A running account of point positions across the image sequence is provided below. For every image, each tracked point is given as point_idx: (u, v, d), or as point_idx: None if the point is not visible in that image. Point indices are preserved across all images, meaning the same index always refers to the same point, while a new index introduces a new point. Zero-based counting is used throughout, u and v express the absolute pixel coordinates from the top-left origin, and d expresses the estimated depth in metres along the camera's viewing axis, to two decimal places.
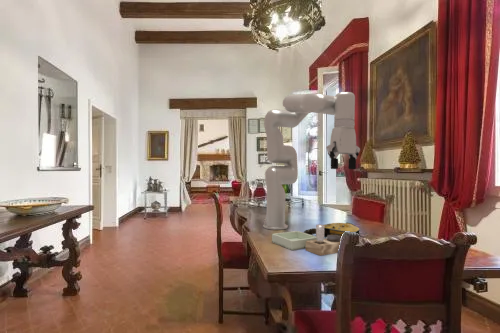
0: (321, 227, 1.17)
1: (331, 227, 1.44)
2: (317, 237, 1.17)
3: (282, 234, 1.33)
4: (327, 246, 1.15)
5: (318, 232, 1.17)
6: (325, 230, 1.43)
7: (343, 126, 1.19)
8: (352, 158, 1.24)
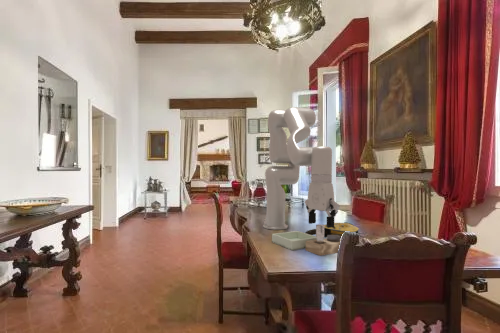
0: (321, 227, 1.17)
1: None
2: (317, 237, 1.17)
3: (282, 234, 1.33)
4: (327, 246, 1.15)
5: (318, 232, 1.17)
6: (326, 230, 1.42)
7: (331, 182, 1.16)
8: (313, 212, 1.22)
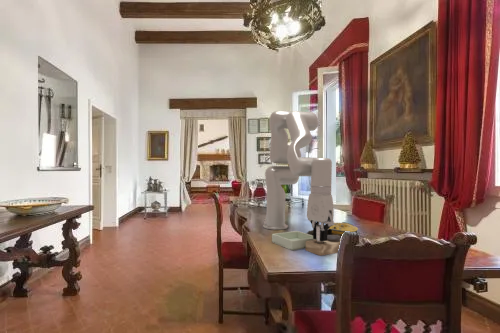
0: None
1: (332, 227, 1.43)
2: (317, 237, 1.17)
3: (282, 234, 1.33)
4: (327, 246, 1.15)
5: (318, 232, 1.17)
6: (327, 231, 1.42)
7: None
8: None
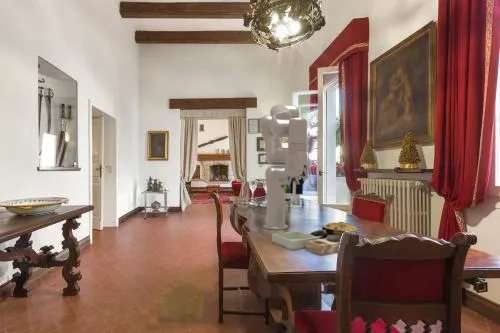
0: None
1: (333, 228, 1.42)
2: (293, 191, 1.27)
3: (282, 234, 1.33)
4: (327, 246, 1.15)
5: (294, 186, 1.27)
6: (328, 231, 1.41)
7: (306, 151, 1.27)
8: None
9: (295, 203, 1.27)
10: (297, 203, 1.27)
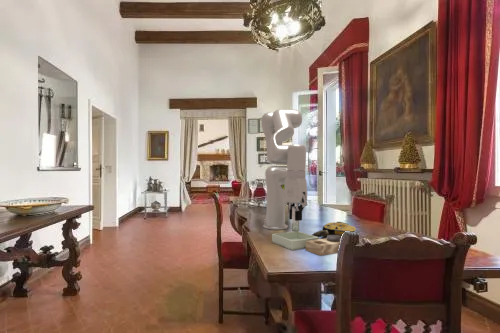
0: None
1: (334, 228, 1.42)
2: (292, 217, 1.27)
3: (282, 234, 1.33)
4: (327, 246, 1.15)
5: (293, 212, 1.27)
6: (329, 231, 1.41)
7: (305, 177, 1.27)
8: None
9: (294, 229, 1.27)
10: (296, 229, 1.27)
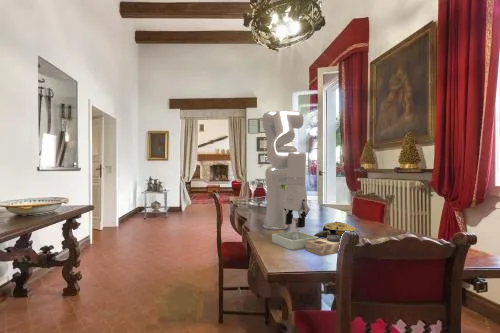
0: (296, 220, 1.27)
1: (334, 228, 1.42)
2: (292, 229, 1.28)
3: (282, 234, 1.33)
4: (327, 246, 1.15)
5: (293, 224, 1.27)
6: (330, 232, 1.40)
7: None
8: (290, 213, 1.32)
9: None
10: None
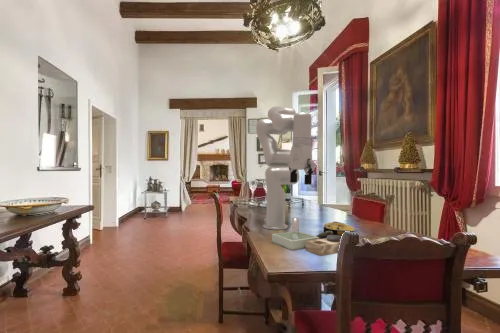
0: (296, 220, 1.27)
1: (335, 228, 1.41)
2: (292, 229, 1.28)
3: (282, 234, 1.33)
4: (327, 246, 1.15)
5: (293, 224, 1.27)
6: (332, 232, 1.40)
7: (310, 145, 1.30)
8: (294, 172, 1.37)
9: None
10: None
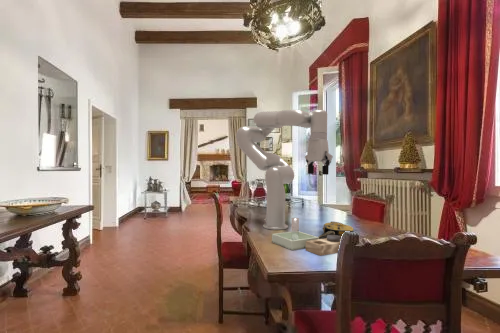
0: (296, 220, 1.27)
1: (336, 228, 1.41)
2: (292, 229, 1.28)
3: (282, 234, 1.33)
4: (327, 246, 1.15)
5: (293, 224, 1.27)
6: None
7: (326, 139, 1.45)
8: (311, 164, 1.50)
9: None
10: None
